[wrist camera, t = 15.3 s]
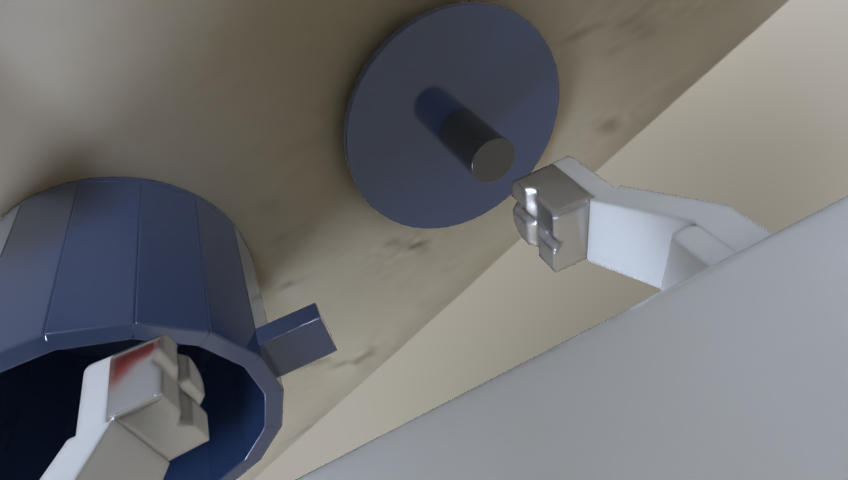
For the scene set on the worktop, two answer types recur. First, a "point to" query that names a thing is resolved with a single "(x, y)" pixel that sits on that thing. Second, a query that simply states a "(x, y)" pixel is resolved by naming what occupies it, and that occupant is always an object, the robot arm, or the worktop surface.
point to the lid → (450, 114)
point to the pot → (138, 318)
